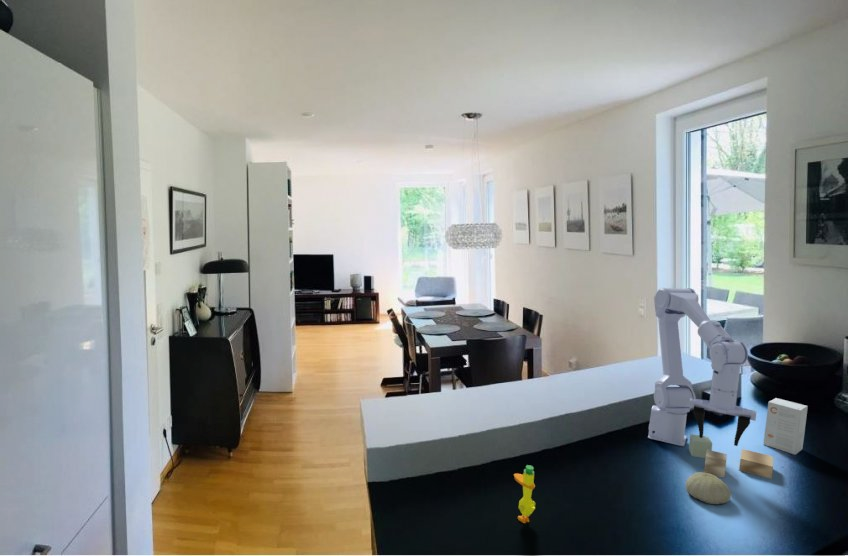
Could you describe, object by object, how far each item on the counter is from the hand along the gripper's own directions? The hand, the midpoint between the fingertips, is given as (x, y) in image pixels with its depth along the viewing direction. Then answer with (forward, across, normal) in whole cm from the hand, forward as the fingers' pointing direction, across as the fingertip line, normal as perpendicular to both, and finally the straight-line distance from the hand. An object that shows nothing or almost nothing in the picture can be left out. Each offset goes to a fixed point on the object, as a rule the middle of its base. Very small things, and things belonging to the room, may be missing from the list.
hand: (718, 440), depth 132 cm
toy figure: (+9, -33, -49) cm, 60 cm away
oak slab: (+9, +9, +8) cm, 15 cm away
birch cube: (+8, 0, 0) cm, 8 cm away
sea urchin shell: (+9, -1, -15) cm, 17 cm away
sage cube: (+8, -4, +9) cm, 13 cm away
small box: (+8, +16, +29) cm, 34 cm away
